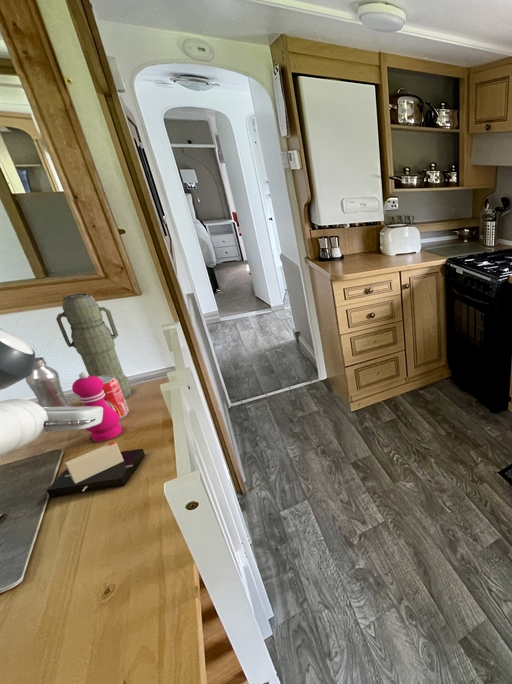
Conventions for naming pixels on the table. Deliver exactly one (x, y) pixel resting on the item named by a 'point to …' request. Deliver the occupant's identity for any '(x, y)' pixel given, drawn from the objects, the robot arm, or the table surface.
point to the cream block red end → (94, 462)
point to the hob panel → (99, 477)
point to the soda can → (114, 395)
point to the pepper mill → (94, 396)
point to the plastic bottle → (46, 385)
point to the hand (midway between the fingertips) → (48, 411)
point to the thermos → (93, 338)
